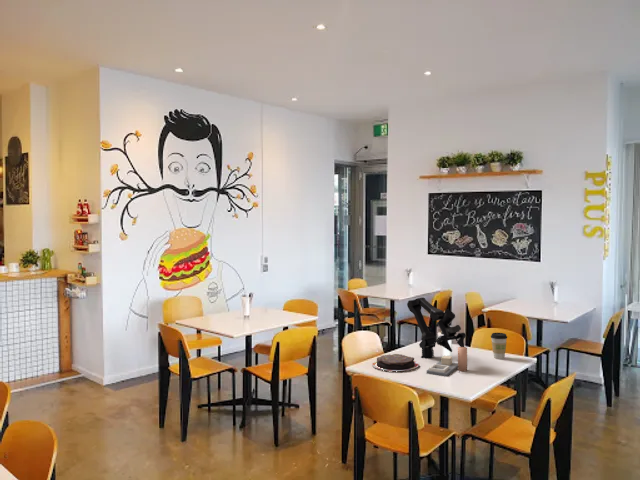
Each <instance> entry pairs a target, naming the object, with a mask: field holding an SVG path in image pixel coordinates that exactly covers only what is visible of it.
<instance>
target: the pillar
mask: <svg viewBox="0 0 640 480" xmlns="http://www.w3.org/2000/svg"><path fill="white" fill-rule="evenodd" d="M457 363H458V368H457V371H459V372H467V371H468V347H466V346H464V347H460V346H458V347H457Z"/></svg>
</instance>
